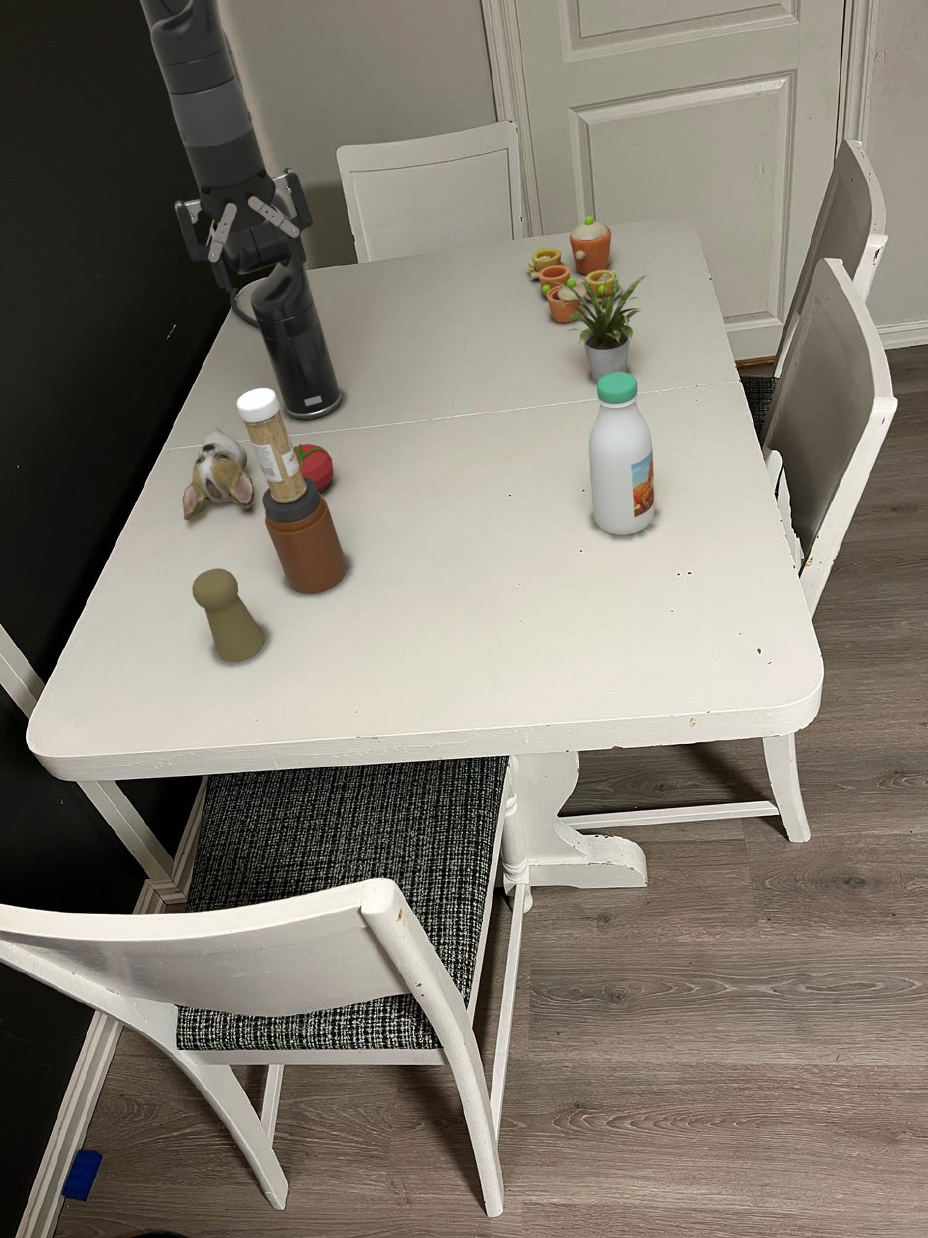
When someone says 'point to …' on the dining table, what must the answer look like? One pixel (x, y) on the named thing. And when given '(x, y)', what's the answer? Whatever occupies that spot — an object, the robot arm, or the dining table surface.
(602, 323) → the house plant
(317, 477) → the tomato
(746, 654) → the dining table surface
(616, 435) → the milk bottle
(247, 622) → the cork
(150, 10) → the robot arm
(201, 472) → the ceramic sculpture
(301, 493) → the spice jar
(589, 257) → the toy tea set
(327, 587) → the amber bottle
